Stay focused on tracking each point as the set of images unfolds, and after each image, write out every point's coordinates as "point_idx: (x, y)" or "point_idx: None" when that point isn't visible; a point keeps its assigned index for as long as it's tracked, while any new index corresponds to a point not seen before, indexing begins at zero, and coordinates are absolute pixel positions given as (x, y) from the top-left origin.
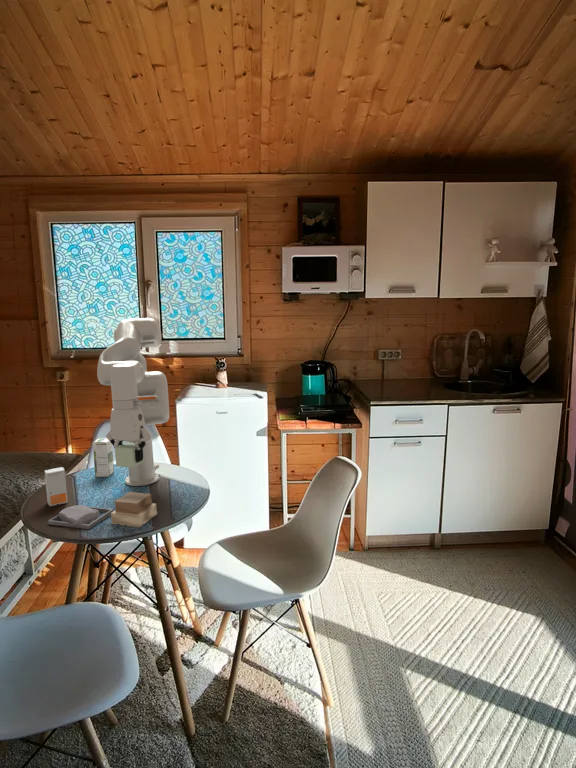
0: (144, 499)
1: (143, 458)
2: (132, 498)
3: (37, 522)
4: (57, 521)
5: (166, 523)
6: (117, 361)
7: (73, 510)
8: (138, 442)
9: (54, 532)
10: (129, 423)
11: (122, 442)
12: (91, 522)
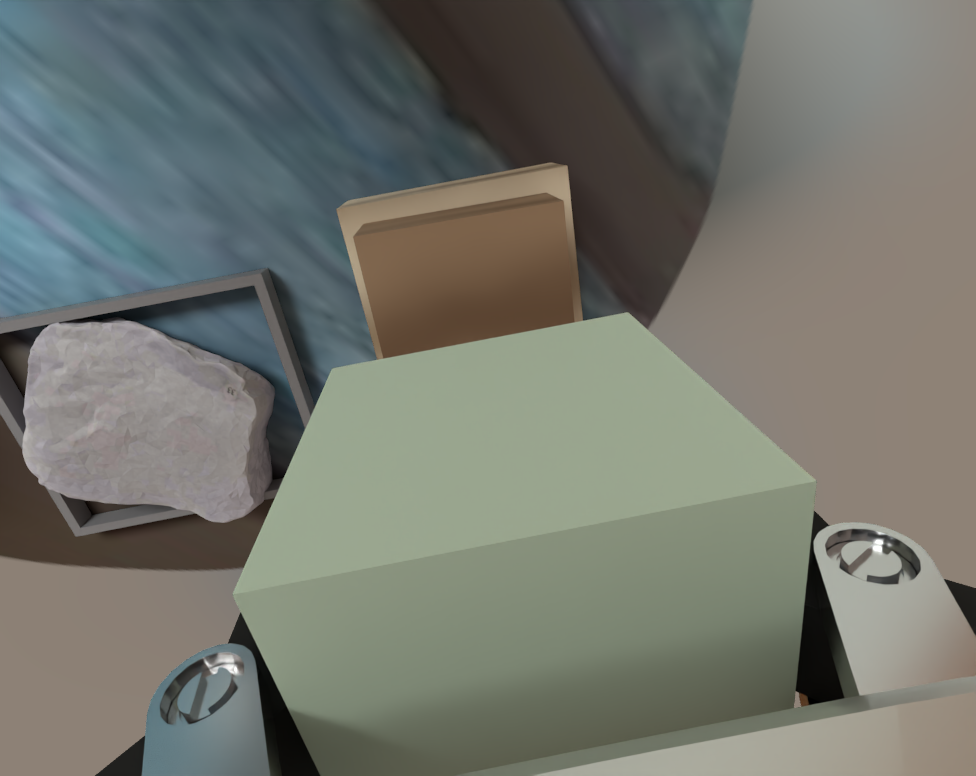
0: (570, 297)
1: (647, 334)
2: (483, 335)
3: (8, 533)
4: (134, 523)
5: (687, 252)
6: None
7: (112, 456)
8: (849, 695)
9: (216, 559)
10: None
11: (273, 749)
12: None
